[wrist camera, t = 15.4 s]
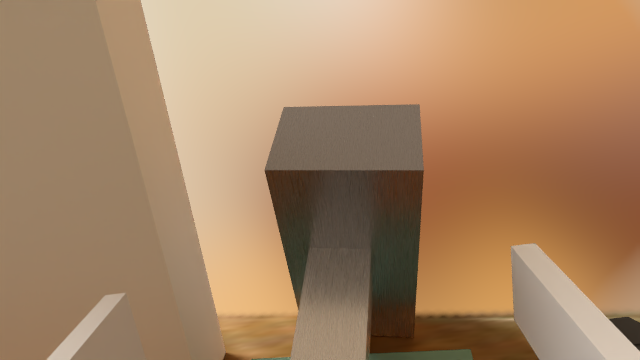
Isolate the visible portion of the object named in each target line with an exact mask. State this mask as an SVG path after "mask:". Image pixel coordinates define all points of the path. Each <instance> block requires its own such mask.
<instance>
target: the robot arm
mask: <svg viewBox="0 0 640 360" xmlns="http://www.w3.org/2000/svg"><path fill="white" fill-rule="evenodd" d="M511 258H512V281H513V305H514V320H515V322H516V323H517V325H518V327H519V328H520V330H521V331H522V333H523V334H524V336H525V338H526V339H527V341H528V342H529V344H530V346H531V347H532V349H533V350H534V352H535V354H536V355H537V357H538V358H539V360H640V323H639V322H637V321H635V320H633V319H631V318H630V317H622V318H613V319H608V318H607V317H606V316H605V315H604V314H603V313H602V312H601V311H600V310H599V309H598V308H597V307H596V306H595V305H594V304H593V303H592V302H591V301H590V300H589V299H588V298H587V296H586V295H585V294H584V293H582V292H581V290H580V289H579V288H578V287H577V286H576V285H575V284H574V283H573V282H572V281H571V280H570V279H569V278H568V277H567V276H566V275H565V274H564V273H563V272H562V271H561V270H560V269H559V268H558V267H557V265H555V264H554V263H553V261H552V260H551V259H550V258H549V257H548V256H547V255H546V254H545V253H544V252H543V251H542V250H541V249H540V248H539V247H538V246H537V245H536V244H535V243H533V244H525V245H518V246H511ZM47 360H146V357H145V354H144V351H143V347H142V344H141V341H140V337H139V334H138V331H137V327H136V324H135V321H134V317H133V314H132V311H131V307H130V304H129V301H128V297H127V294H126V293H120V294H111V295H105V296H104V297H103V298H102V299H101V300H100V301H99V303H98V304H97V305H96V306H95V307H94V308H93V309H92V310H91V311H90V312H89V314H88V315H87V316H86V317H85V318H84V319H83V320H82V321H81V322H80V323H79V324H78V326H77V327H76V328H75V329H74V330H73V331H72V332H71V333H70V334H69V335H68V337H67V338H66V339H65V340H64V341H63V342H62V343H61V344H60V345H59V346H58V347H57V349H56V350H55V351H54V352H53V353H52V354H51V355H50V356H49V357H48V358H47Z"/></svg>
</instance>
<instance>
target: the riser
mask: <svg viewBox="0 0 640 360" xmlns="http://www.w3.org/2000/svg"><path fill="white" fill-rule="evenodd" d="M120 293H126V294H127V297H128V301H129V304H130V307H131V311H132V314H133V317H134V321H135V324H136V327H137V331H138V334H139V337H140V341H141V344H142V347H143V351H144V354H145V357H146V360H223V358H224V356H225V353H226V351H225V346H224V342H223V338H222V334H221V330H220V326H219V322H218V318H217V313H216V309H215V305H214V301H213V297H212V293H211V289H210V285H209V281H208V277H207V272H206V268H205V264H204V260H203V256H202V252H201V248H200V244H199V239H198V235H197V231H196V227H195V223H194V219H193V215H192V211H191V207H190V202H189V198H188V194H187V190H186V186H185V182H184V178H183V174H182V170H181V165H180V162H179V157H178V153H177V149H176V145H175V141H174V136H173V132H172V128H171V124H170V121H169V116H168V112H167V108H166V104H165V99H164V95H163V91H162V87H161V83H160V79H159V75H158V71H157V67H156V63H155V58H154V54H153V50H152V46H151V42H150V38H149V34H148V30H147V25H146V22H145V17H144V13H143V9H142V5H141V1H140V0H0V360H47V358H48V357H49V356H50V355H51V354H52V353H53V352H54V351H55V350H56V349H57V347H58V346H59V345H60V344H61V343H62V342H63V341H64V340H65V339H66V338H67V337H68V335H69V334H70V333H71V332H72V331H73V330H74V329H75V328H76V327H77V326H78V324H79V323H80V322H81V321H82V320H83V319H84V318H85V317H86V316H87V315H88V314H89V312H90V311H91V310H92V309H93V308H94V307H95V306H96V305H97V304H98V303H99V301H100V300H101V299H102V298H103V297H104V296H105V295H111V294H120Z"/></svg>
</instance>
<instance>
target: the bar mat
mask: <svg viewBox="0 0 640 360" xmlns="http://www.w3.org/2000/svg"><path fill="white" fill-rule="evenodd" d="M290 358H291V357H285V358H263V359H251V360H290ZM369 360H473V357H472V353H471V349H461V350H439V351H417V352H395V353H373V354H370V359H369Z"/></svg>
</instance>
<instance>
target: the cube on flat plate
mask: <svg viewBox="0 0 640 360" xmlns="http://www.w3.org/2000/svg"><path fill="white" fill-rule="evenodd" d="M423 172H424V168H423V153H422V138H421V122H420V106H419V105H373V106H372V105H371V106H322V107H321V106H320V107H284V109H283V112H282V115H281V118H280V122H279V125H278V128H277V131H276V134H275V138H274V141H273V144H272V148H271V151H270V154H269V158H268V161H267V164H266V167H265V174H266V177H267V182H268V186H269V190H270V194H271V198H272V203H273V207H274V211H275V215H276V219H277V223H278V228H279V232H280V236H281V240H282V244H283V248H284V252H285V256H286V261H287V265H288V269H289V273H290V277H291V281H292V285H293V290H294V293H295V298H296V302H297V306H298V310H299V311H298V317H297V323H296V329H295V335H294V341H293V347H292V352H291V358H290V360H369V359H370V336H371V335H373V336H391V337H410V338H414V322H415V305H416V287H417V271H418V254H419V239H420V222H421V221H420V220H421V205H422V189H423Z"/></svg>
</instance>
